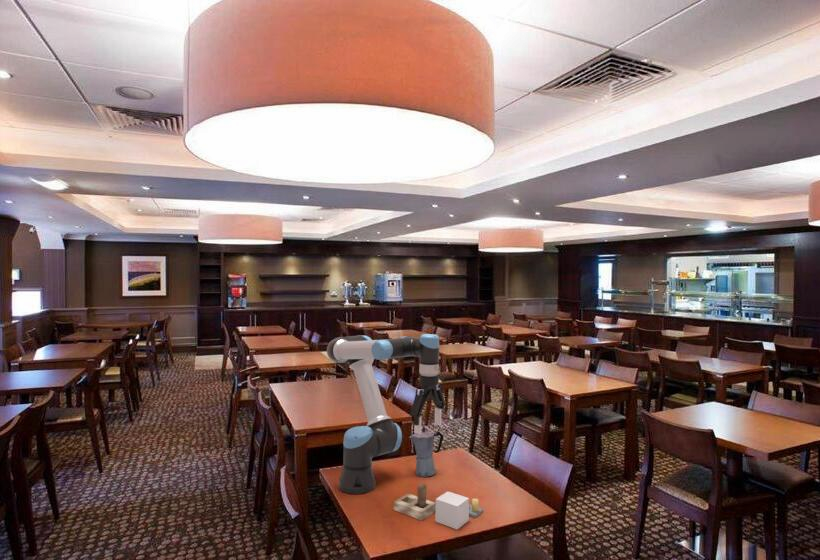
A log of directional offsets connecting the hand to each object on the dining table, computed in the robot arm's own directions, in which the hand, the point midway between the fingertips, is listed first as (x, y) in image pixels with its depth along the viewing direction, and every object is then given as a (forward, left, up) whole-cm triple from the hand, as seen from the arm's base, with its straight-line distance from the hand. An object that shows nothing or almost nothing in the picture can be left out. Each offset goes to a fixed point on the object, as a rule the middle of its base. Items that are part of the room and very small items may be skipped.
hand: (428, 428), depth 187 cm
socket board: (+1, -9, -28) cm, 29 cm away
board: (+18, +3, -28) cm, 33 cm away
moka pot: (-15, +22, -28) cm, 39 cm away
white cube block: (+16, -7, -28) cm, 33 cm away
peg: (+4, -9, -28) cm, 30 cm away
